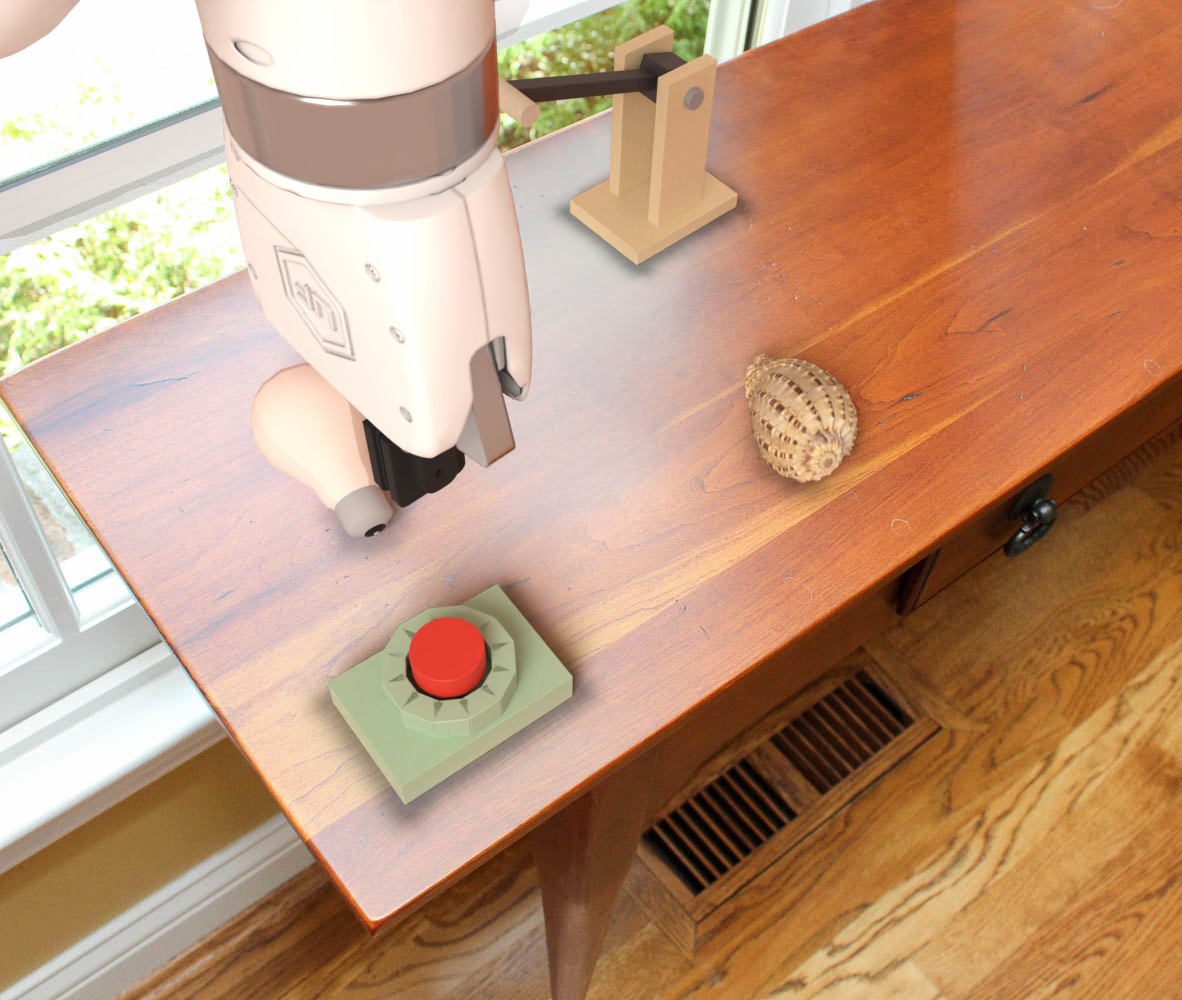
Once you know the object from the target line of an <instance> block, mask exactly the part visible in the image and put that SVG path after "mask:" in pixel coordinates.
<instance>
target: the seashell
mask: <svg viewBox="0 0 1182 1000" xmlns="http://www.w3.org/2000/svg"><path fill="white" fill-rule="evenodd" d="M744 377H745V378H746V381H745V384H744V389H745V398H746V399H747V405H748V406H749V408H750V409H749V413H750V414H751V424H750V430H751V433H752V435H753V437H754V438H755V440H756V441H757V446H758V450H759V453H760V455H761V457H762V459H763V461H764V463H766V465H767V466H769V467H770V468H772V469H773V470H774V471H776V472H777V473H778V474H779V475H780V476H782V477H784V478H791V479H793V480H795V481H796V482H797V483H800V484H801V483H807V482H819V481H821V480H822V478H823V477H826V476H831V474H832V472H833V471H835V469H837V468H839V466H840V465H841V464H842V463H843V459H844V457H845V456H850V455H851V453H852V451H853V448H854V445H855V443H856V440H857V437H858V433H859V424H858V411H857V408H856V407H855V404H854V402H853V401H852V399H851V396H850V394H849V393H848V390H846V387H845V386H844V385H843V384H842V382H841V381H839V379H838V378H837V377H835V376H834V375H833V374H832V373H830V372H829V371H827V370H825V369H824V368H822V367H820V366H818V365H817V364H814V363H813V362H811V361H808V360H805V359H802V358H794V357H793V358H791V357H790V358H777V357H773V356H771V355H768V354H766V353H762V354H760V355H757V356H756V357H755V358H753V360H752V363H751V364H749V366H747V368H746V373H745V376H744Z"/></svg>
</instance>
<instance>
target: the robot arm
mask: <svg viewBox="0 0 1182 1000" xmlns="http://www.w3.org/2000/svg"><path fill="white" fill-rule="evenodd" d="M80 1H81V0H0V60H2V59H5V58H8V57H11V56H13V55H15V54H18V53H21V52H22V51H24V50H26V49H27V48H29V47H30V46H32V45H33V44H35V43H37V42H38V41H40V40H41V39H43V38H45V37H46V36H48V35H50V34H51V33H52V32H53V31H54V30H55V29H56V28H57V27H58V26H59V25H60V24H61V23H62V22H63V20H64V19H65V18H67V16H68V15H69V14H70V12H72V10H73V9H74V8H75V7H76V6H77V5H78V4H79V2H80ZM194 3H195V8H196V11H197V15H198V18H199V22H200V27H201V30H202V37H203V40H204V44H205V48H206V52H207V56H208V60H209V63H210V67H211V71H212V75H213V80H214V83H215V86H216V87H215V88H216V90H217V95H218V98H219V102H220V105H221V120H222V134H223V135H222V136H223V144H224V153H225V161H226V166H227V172H228V178H229V186H230V191H231V196H232V201H233V207H234V211H235V217H236V222H237V226H238V227H237V228H238V231H239V236H240V241H241V245H242V250H243V254H244V259H245V263H246V266H247V267H246V268H247V272H248V275H249V281H250V284H251V288H252V292H253V295H254V299H255V302H256V304H257V306H258V307H259V309H260V311H261V313H262V314H263V316H264V317H265V319H266V320H267V321H268V323H269V324H270V326H272V327H273V329H274V330H275V331H276V332H277V333H278V334H279V335H280V336H281V337H282V338H283V340H284V341H286V342H287V343H288V345H290V347H292V348H293V349H294V350H295V351H296V353H298V354H299V355H300V356H301V357H302V358H303V359H304V360H305V361H306V363H309V364H310V365H311V366H312V367H313V368H314V369H315V370H316V371H317V372H319V373H320V374H321V375H322V376H323V377H324V378H325V379H326V380H327V381H328V382H329V383H330V384H331V385H332V386H333V387H334V388H335V389H336V390H337V391H338V392H339V393H340V394H341V395H343V396H344V397H345V398H346V399H347V400H348V401H349V402H350V403H351V404H352V405H353V406H354V407H355V408H356V409H357V410H358V411H360V412H361V413H362V414H363V415H364V416H365V417H366V418H367V419H365V420H364V421H362V423H363V428H364V433H365V438H366V443H367V447H368V452H369V457H370V462H371V467H372V472H373V477H374V481H375V483H376V484H377V485H378V486H379V488H380V489H381V491H384V492H390V493H389V494H390V498H391V500H392V501H393V502H394V503H396V505H398V507H400V508H406V507H409V506H410V505H413V504H414V503H415V502H417V501H418V500H420V499H421V498H423V497H424V496H426V495H427V494H435V493H437V492H439V491H442V489H444V488H445V487H448V486H449V485H450V484H451V483H452V482H454V480H455V479H456V477H457V476H458V474H460V473H461V472H462V471H463V470H464V469H465V466H466V457H468V458H470V459H471V460H472V461H474V462H475V463H476V464H478V465H479V466H481V467H482V468H485V469H487V468H489V467H491V466H492V465H494V464H495V463H497V462H498V461H500V460H502V459H503V458H504V457H506V456H508V455H509V454H511V453H512V452H514V451H515V450H516V447H517V445H516V440H515V437H514V432H513V429H512V424H511V421H510V417H509V413H508V409H507V404H506V400H505V398H504V395H505V396H507V397H509V398H510V399H511V400H514V401H517V402H524V401H525V400H526V399H527V397H528V394H529V391H530V387H531V382H532V376H533V375H532V374H533V330H532V329H533V328H532V314H531V313H532V312H531V303H530V293H529V285H528V278H527V269H526V261H525V254H524V248H523V243H522V236H521V229H520V225H519V220H518V214H517V210H516V204H515V200H514V195H513V191H512V187H511V183H510V180H509V175H508V170H507V169H508V168H507V165H506V161H505V160H506V159H505V157H504V155H503V153H502V151H501V150H500V148H499V147H498V146H497V141H498V139H499V137H500V129H501V124H502V123H501V122H502V121H501V109H500V106H499V80H498V75H499V62H498V61H499V60H498V59H499V58H498V43H497V42H498V40H497V39H498V38H497V23H496V22H497V20H496V1H495V0H194Z"/></svg>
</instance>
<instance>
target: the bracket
mask: <svg viewBox="0 0 1182 1000" xmlns="http://www.w3.org/2000/svg"><path fill="white" fill-rule="evenodd" d="M674 34H675V30H673V29H672V28H671V27H669V26H668V25H666V24H661V25H659V26H657V27H654V28H652V29H650V30H648V31H646V32H644V33H642V34H640V35H638V36H635V37H633V38H631V39H629V40H626V41H625V42H622V43H620V44H618V45H616V46H615V47H614V56H613V57H614V58H613V71H622V70H633V69H640V65H641V62H642V58H643V55H644V54H648V53H661V52H673V47H674V37H675V35H674ZM687 62H688V61H687ZM717 68H718V60H717V59H716V58H715V57H713V56H712V55H710V54H709V53H705V54H703V55H701V56H698V57H696V58H694V59H693V60H691V61H689V62H688V63H686V64H684V65H682V66H680V67H678V68H676V69H674V70H672V71H670V72H668V73H666V74H664V75H662V76H660V77H658V85H657V99H656V104H655V103H654V102H653V101H651V100H650V99H648V98H647V97H646V96H644V95H643V94H641V93H640V92H631V93H622V94H613V95H612V106H611V108H612V109H611V110H612V111H611V135H610V136H611V137H610V159H609V160H610V161H609V165H610V166H609V178H608V179H606V180H603V181H602V182H601V183H598V184H596V185H595V186H593V187H591V188H588V189H587V190H586V191H584V192H582V193H580V194H577V195H576V196H574V197H573V198H571V199H570V200H569V213H570V214H571V215H572V216H573V217H575V218H576V219H577V220H578V221H580V222H581V223H582V224H583V225H585V226H586V227H587V228H588V229H590V230H591V231H592V232H594V233H595V234H596V235H597V236H599V237H600V238H601V239H602V240H604V241H605V242H606V243H607V244H609V245H610V246H611V247H613V248H614V249H615V250H616V251H618V252H619V253H621V255H623V256H624V257H625V258H627V259H628V260H629V261H630V262H632V263H633V264H635V266H639V265H640V264H642V263H644V262H645V261H647V260H649V259H651V258H652V257H654V256H656V255H657V254H659V253H661V252H662V251H664V250H666V249H667V248H669V247H670V246H672V245H674V244H676V243H678V242H679V241H681V240H683V239H684V238H686V237H688V236H689V235H691V234H693V233H694V232H696V231H698V230H700V229H701V228H703V227H704V226H707V225H708V224H709V223H711V222H714V221H715V220H716V219H718V218H720V217H722V216H723V215H725V214H726V213H728V212H730V211H731V210H733V209H735V208H737V205H738V196H739V193H737V192H736V191H735V190H733V189H732V188H731V187H729V186H728V185H726V184H725V183H724V182H722V181H721V180H719V178H717V177H715V176H714V175H712V174H711V173H710V172H709V171H707V170H706V164H707V157H708V156H707V154H708V146H709V139H710V128H711V123H712V122H711V120H712V113H713V104H714V95H715V87H716V77H717V70H718V69H717Z"/></svg>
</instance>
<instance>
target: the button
mask: <svg viewBox="0 0 1182 1000" xmlns="http://www.w3.org/2000/svg"><path fill="white" fill-rule="evenodd" d="M409 658H410V663H411V668H412V673H413V677H414V679H415V681H416V683H417V684H418V685H419V687H420V688H421V689H423V690H424V691H425V692H427V693H429V694H431V695H434V696H437V697H443V698H451V697H457V696H460V695H463V694H465V693H467V692H469V691H470V690H472V689H473V688H474V687H475V686H476V685H477V684H478V683H479V682H480V681H481V679H482V678H483V676H484V673H485V670H486V653H485V644H484V639H483V637H482V634H481V633H480V631H479V630H478V629H477V628H476V627H475V626H474V625H473V624H471V623H470V622H468V621H466V620H463V619H460V618H454V617H445V618H439V619H436V620H433V621H431V622H429V623H427V624H425V625H424V626H422V627H421V628H420V629H419V630H418V631H417V632H416V634H415V635H414V637H413V638H412V640H411V643H410V647H409Z"/></svg>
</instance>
